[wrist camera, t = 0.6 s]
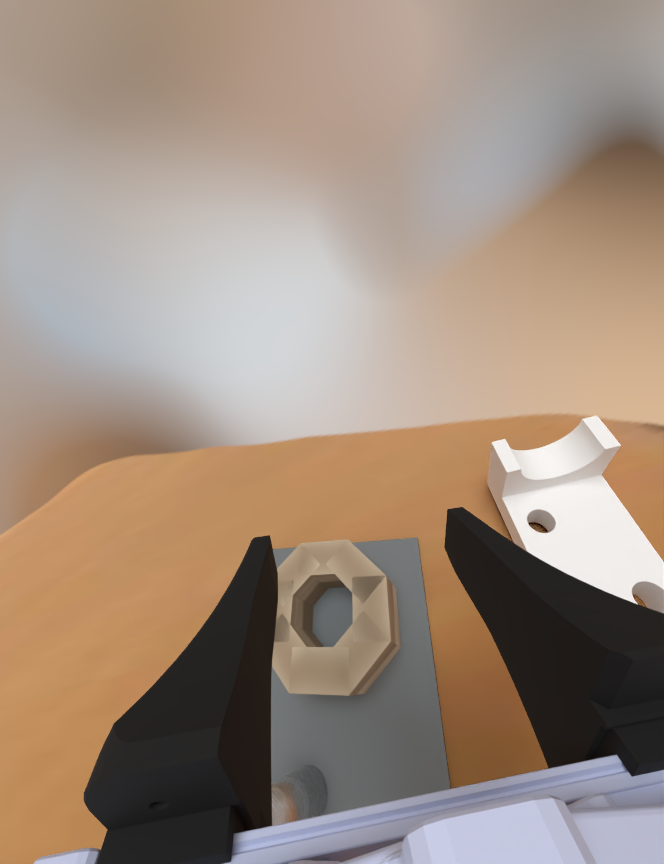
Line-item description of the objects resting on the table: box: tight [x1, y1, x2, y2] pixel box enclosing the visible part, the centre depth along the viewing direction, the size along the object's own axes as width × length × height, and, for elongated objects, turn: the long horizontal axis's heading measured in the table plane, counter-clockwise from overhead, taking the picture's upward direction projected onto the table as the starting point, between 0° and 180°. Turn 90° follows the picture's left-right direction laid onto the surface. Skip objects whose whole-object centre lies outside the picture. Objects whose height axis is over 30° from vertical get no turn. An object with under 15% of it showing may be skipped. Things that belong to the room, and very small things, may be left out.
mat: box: [271, 538, 451, 815], centre depth 25 cm, size 20×16×1 cm
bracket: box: [487, 416, 664, 613], centre depth 23 cm, size 13×7×8 cm, turn 6°
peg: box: [271, 765, 328, 826], centre depth 19 cm, size 3×3×8 cm
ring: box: [272, 539, 401, 696], centre depth 25 cm, size 10×10×4 cm
